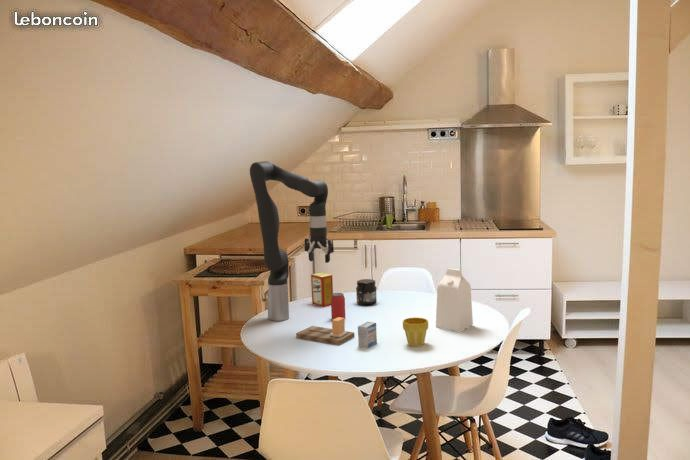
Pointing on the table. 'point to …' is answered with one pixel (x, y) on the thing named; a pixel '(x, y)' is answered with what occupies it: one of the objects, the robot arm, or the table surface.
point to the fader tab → (338, 327)
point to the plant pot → (415, 330)
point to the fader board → (323, 335)
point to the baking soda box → (321, 289)
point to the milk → (454, 302)
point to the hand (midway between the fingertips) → (319, 261)
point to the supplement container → (366, 292)
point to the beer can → (338, 305)
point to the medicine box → (367, 334)
